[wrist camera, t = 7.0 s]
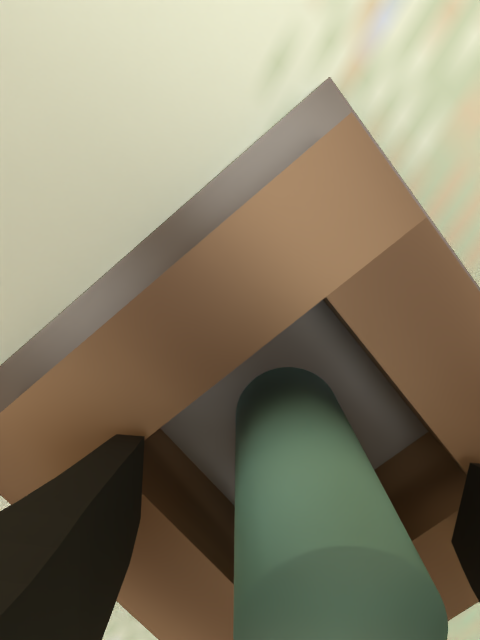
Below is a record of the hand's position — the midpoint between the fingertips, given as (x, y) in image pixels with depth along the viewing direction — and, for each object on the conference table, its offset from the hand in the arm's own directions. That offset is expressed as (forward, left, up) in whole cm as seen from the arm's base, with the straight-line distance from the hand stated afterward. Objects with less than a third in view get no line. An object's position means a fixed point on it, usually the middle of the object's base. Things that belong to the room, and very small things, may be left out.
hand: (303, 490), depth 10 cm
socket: (0, 0, -4) cm, 4 cm away
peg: (0, 0, -3) cm, 3 cm away
